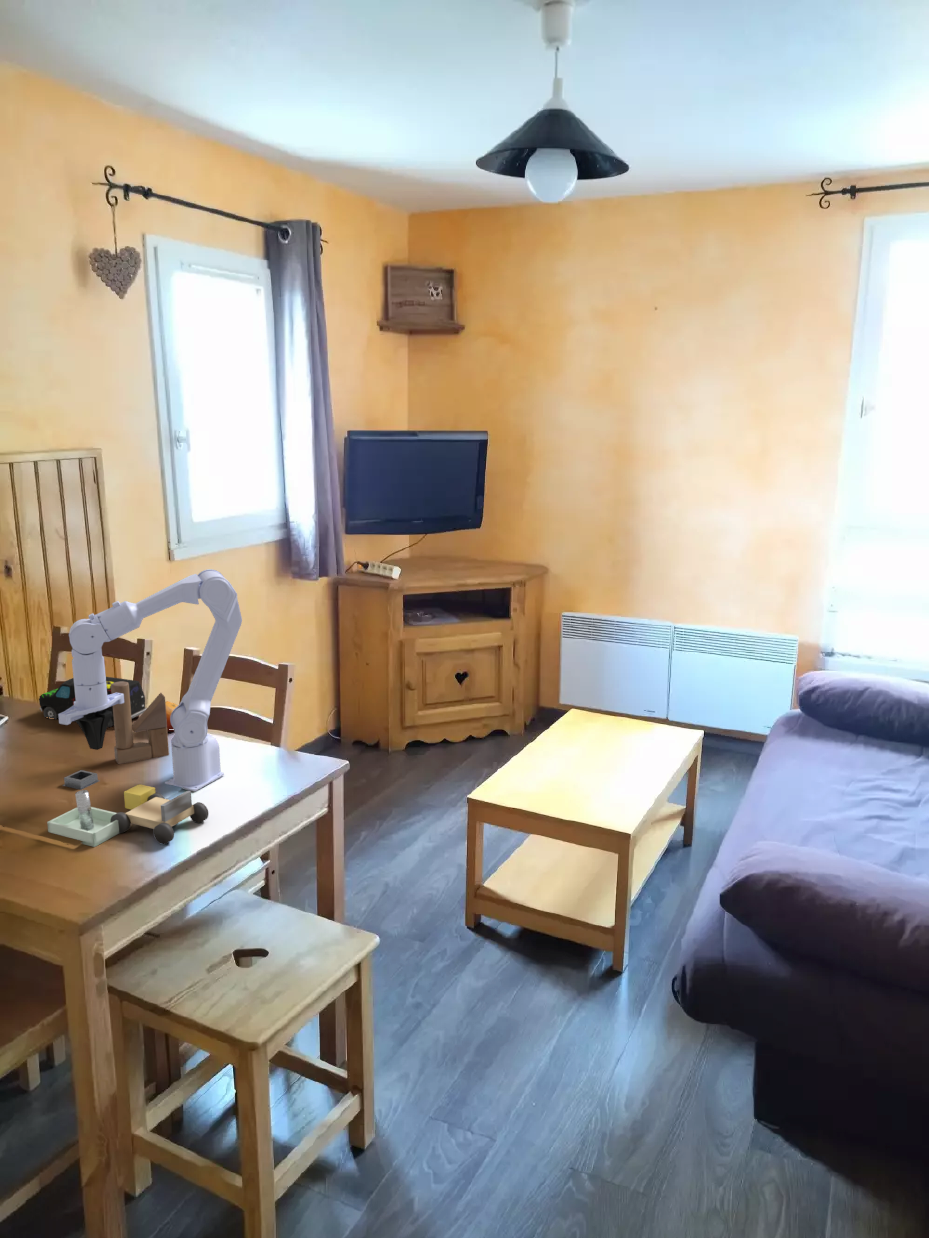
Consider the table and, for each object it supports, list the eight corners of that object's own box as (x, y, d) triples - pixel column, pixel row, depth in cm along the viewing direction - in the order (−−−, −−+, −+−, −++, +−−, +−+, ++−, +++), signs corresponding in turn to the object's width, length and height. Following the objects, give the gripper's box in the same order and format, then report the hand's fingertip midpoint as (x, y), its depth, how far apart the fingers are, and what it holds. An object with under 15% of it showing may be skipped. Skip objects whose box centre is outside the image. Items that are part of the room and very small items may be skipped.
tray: (83, 816, 167) (82, 804, 166) (128, 828, 163) (127, 815, 162) (48, 834, 160) (47, 821, 159) (94, 846, 156) (93, 833, 155)
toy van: (69, 705, 230) (65, 668, 228) (149, 716, 223) (146, 678, 220) (37, 718, 220) (33, 679, 218) (120, 730, 213) (117, 690, 210)
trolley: (152, 808, 171) (149, 777, 169) (208, 822, 165) (207, 790, 164) (111, 831, 161) (108, 798, 160) (170, 846, 156) (167, 812, 155)
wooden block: (169, 757, 196) (164, 679, 192) (118, 767, 190) (111, 687, 186) (165, 752, 199) (160, 675, 195) (115, 761, 193) (108, 682, 189)
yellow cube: (140, 803, 173) (139, 784, 172) (156, 806, 172) (155, 787, 171) (125, 811, 170) (123, 791, 169) (141, 815, 168) (140, 795, 167)
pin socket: (82, 779, 184) (81, 769, 183) (100, 783, 182) (99, 773, 182) (62, 788, 180) (61, 777, 179) (81, 792, 178) (80, 782, 177)
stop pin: (86, 824, 162) (80, 789, 160) (96, 825, 162) (91, 790, 160) (78, 830, 160) (72, 795, 158) (88, 831, 160) (83, 796, 158)
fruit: (142, 720, 215) (158, 692, 214) (172, 734, 218) (188, 706, 217) (141, 732, 207) (157, 702, 207) (172, 745, 210) (189, 716, 210)
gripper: (103, 669, 179) (108, 733, 182) (43, 689, 166) (51, 757, 169) (130, 673, 176) (135, 738, 179) (72, 694, 163) (78, 763, 166)
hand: (96, 748), depth 174 cm, fingers closed
